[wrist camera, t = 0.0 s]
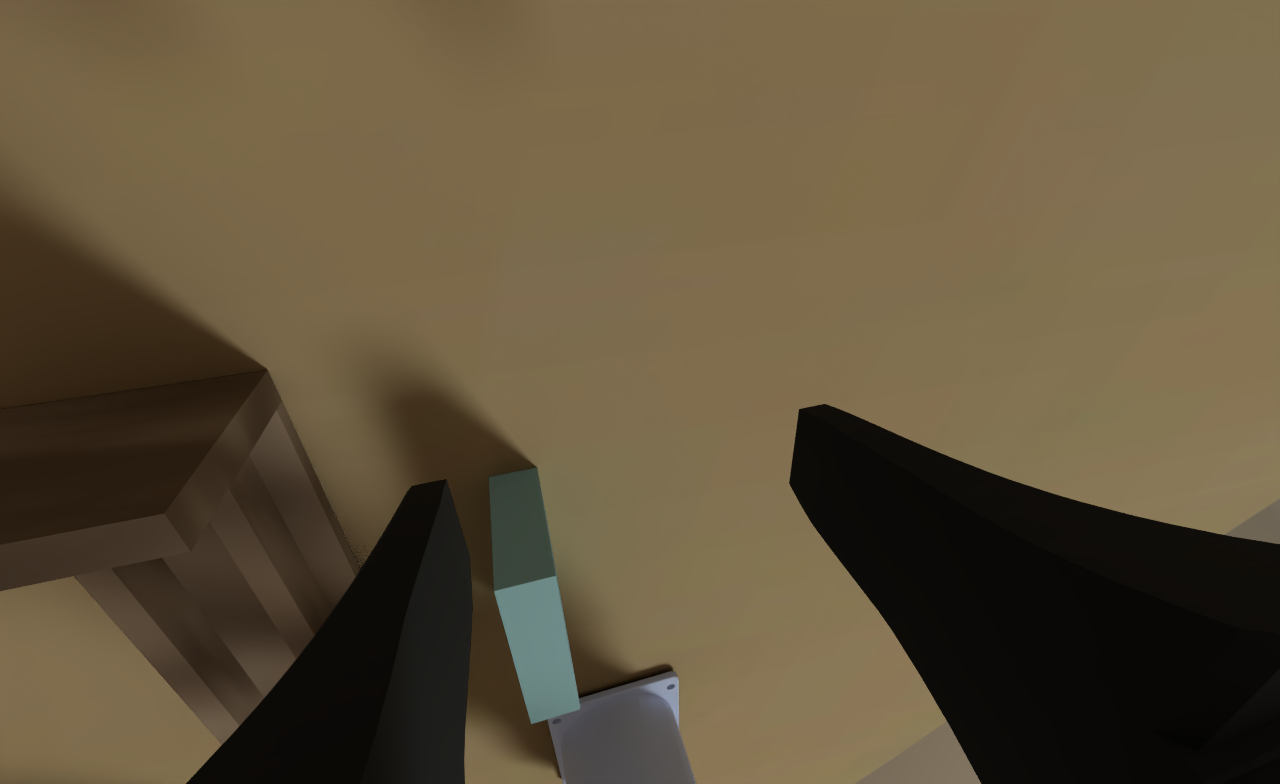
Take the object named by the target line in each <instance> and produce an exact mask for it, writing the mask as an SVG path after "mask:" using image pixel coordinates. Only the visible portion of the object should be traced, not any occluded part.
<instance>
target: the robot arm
mask: <svg viewBox="0 0 1280 784" xmlns="http://www.w3.org/2000/svg"><path fill="white" fill-rule="evenodd" d="M789 484H790V486H791V488H792V490H793V491H794V493H795V495H796V497H797V499H798V501H799V502H800V504H801V506H802V508H803V509H804V511H805V513H806V515H807V516H808V518H809V520H810V521H811V523H812V524H813V526H814V527H815V528H816V530H817V531H818V533H819V534H820V535H821V537H822V538H823V539H824V541H825V542H826V543H827V545H828V546H829V547H830V549H831V550H832V551H833V552H834V554H835V555H836V556H837V558H838V559H839V560H840V562H841V563H842V564H843V566H844V567H845V568H846V569H847V571H848V572H849V573H850V575H851V576H852V577H853V578H854V580H855V581H856V582H857V584H858V585H859V586H860V588H861V589H862V590H863V591H864V593H865V594H866V595H867V597H868V598H869V599H870V601H871V602H872V603H873V604H874V606H875V607H876V608H877V610H878V611H879V613H880V614H881V615H882V617H883V618H884V620H885V621H886V622H887V624H888V625H889V627H890V628H891V629H892V631H893V633H894V634H895V636H896V637H897V639H898V641H899V642H900V644H901V645H902V647H903V649H904V650H905V652H906V653H907V655H908V657H909V658H910V660H911V661H912V663H913V665H914V666H915V668H916V669H917V671H918V673H919V674H920V676H921V677H922V679H923V681H924V683H925V684H926V686H927V688H928V689H929V691H930V693H931V695H932V696H933V698H934V700H935V701H936V703H937V705H938V706H939V708H940V710H941V712H942V713H943V715H944V717H945V718H946V720H947V722H948V723H949V725H950V727H951V729H952V731H953V732H954V734H955V736H956V738H957V740H958V742H959V743H960V745H961V747H962V749H963V751H964V753H965V754H966V756H967V758H968V760H969V762H970V764H971V765H972V767H973V769H974V771H975V773H976V775H977V776H978V778H979V780H980V782H981V784H1280V544H1274V543H1268V542H1262V541H1256V540H1250V539H1243V538H1237V537H1231V536H1226V535H1221V534H1216V533H1211V532H1206V531H1202V530H1197V529H1192V528H1187V527H1182V526H1177V525H1172V524H1168V523H1163V522H1159V521H1154V520H1150V519H1146V518H1141V517H1137V516H1133V515H1129V514H1125V513H1121V512H1117V511H1114V510H1110V509H1106V508H1102V507H1098V506H1094V505H1091V504H1087V503H1083V502H1079V501H1076V500H1073V499H1069V498H1066V497H1062V496H1059V495H1055V494H1052V493H1049V492H1046V491H1043V490H1040V489H1037V488H1034V487H1031V486H1027V485H1024V484H1021V483H1018V482H1015V481H1012V480H1009V479H1006V478H1003V477H1001V476H998V475H995V474H992V473H990V472H987V471H984V470H982V469H979V468H977V467H974V466H971V465H969V464H966V463H964V462H961V461H958V460H956V459H953V458H951V457H949V456H946V455H944V454H941V453H939V452H936V451H934V450H932V449H929V448H927V447H925V446H922V445H920V444H918V443H915V442H913V441H911V440H909V439H906V438H904V437H902V436H899V435H897V434H895V433H893V432H890V431H888V430H886V429H884V428H881V427H879V426H877V425H875V424H873V423H870V422H868V421H866V420H864V419H861V418H859V417H857V416H854V415H852V414H850V413H847V412H845V411H842V410H840V409H837V408H835V407H832V406H829V405H826V404H823V405H818V406H812V407H807V408H802V409H799V414H798V422H797V429H796V437H795V444H794V452H793V459H792V467H791V474H790V482H789ZM472 612H473V603H472V583H471V567H470V556H469V552H468V549H467V546H466V542H465V539H464V536H463V532H462V529H461V526H460V522H459V519H458V516H457V512H456V509H455V506H454V502H453V499H452V496H451V492H450V489H449V486H448V482H447V479H445V480H440V481H435V482H429V483H424V484H419V485H414V486H411V488H410V489H409V490H408V491H407V493H406V495H405V496H404V498H403V500H402V502H401V503H400V505H399V507H398V509H397V510H396V512H395V514H394V516H393V517H392V519H391V521H390V522H389V524H388V526H387V528H386V529H385V531H384V533H383V534H382V536H381V538H380V539H379V541H378V543H377V544H376V546H375V547H374V549H373V551H372V552H371V554H370V555H369V557H368V558H367V560H366V561H365V563H364V565H363V566H362V568H361V569H360V571H359V572H358V574H357V575H356V577H355V579H354V580H353V582H352V583H351V585H350V586H349V588H348V589H347V591H346V592H345V593H344V595H343V596H342V598H341V599H340V600H339V602H338V603H337V605H336V606H335V607H334V609H333V610H332V612H331V613H330V614H329V616H328V617H327V619H326V620H325V621H324V623H323V624H322V626H321V627H320V628H319V630H318V631H317V633H316V634H315V635H314V637H313V638H312V639H311V641H310V642H309V643H308V644H307V646H306V647H305V648H304V650H303V651H302V652H301V654H300V655H299V656H298V657H297V659H296V660H295V661H294V662H293V664H292V665H291V666H290V667H289V669H288V670H287V671H286V672H285V674H284V675H283V676H282V677H281V678H280V680H279V681H278V682H277V683H276V684H275V686H274V687H273V688H272V689H271V690H270V692H269V693H268V694H267V695H266V696H265V698H264V699H263V700H262V701H261V702H260V703H259V705H258V706H257V707H256V708H255V709H254V710H253V711H252V712H251V714H250V715H249V716H248V717H247V718H246V719H245V720H244V721H243V723H242V724H241V725H240V726H239V727H238V728H237V729H236V730H235V731H234V732H233V734H232V735H231V736H230V737H229V738H228V739H227V740H226V741H225V742H224V743H223V744H222V745H221V747H220V748H219V749H218V750H217V751H216V752H215V753H214V754H213V755H212V756H211V757H210V758H209V760H208V761H207V762H206V763H205V764H204V765H203V766H202V767H201V768H200V769H199V770H198V771H197V773H196V774H195V775H194V776H193V777H192V778H191V779H190V780H189V781H188V782H187V783H186V784H465V774H464V748H465V723H466V707H467V692H468V677H469V662H470V646H471V629H472ZM579 703H580V708H581V709H580V710H577V711H573V712H570V713H567V714H564V715H560V716H557V717H554V718H550V719H547V721H548V725H549V729H550V733H551V737H552V741H553V745H554V749H555V753H556V757H557V761H558V765H559V769H560V773H561V777H562V781H563V784H696V781H695V778H694V775H693V772H692V769H691V766H690V762H689V759H688V756H687V753H686V750H685V747H684V744H683V741H682V737H681V734H680V731H679V682H678V676H677V673H676V672H674V671H670V672H666V673H663V674H659V675H656V676H653V677H649V678H646V679H642V680H639V681H636V682H632V683H629V684H626V685H622V686H619V687H615V688H612V689H609V690H605V691H602V692H599V693H595V694H592V695H588V696H585V697H582V698H579Z"/></svg>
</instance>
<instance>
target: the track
mask: <svg viewBox="0 0 1280 784" xmlns="http://www.w3.org/2000/svg"><path fill="white" fill-rule="evenodd" d="M359 571H360V569H359V567H358V565H357V562H356V560H355V558H354V556H353V554H352V552H351V549H350V547H349V545H348V543H347V541H346V539H345V536H344V534H343V532H342V530H341V528H340V526H339V523H338V521H337V519H336V517H335V515H334V513H333V510H332V508H331V506H330V504H329V502H328V500H327V497H326V495H325V493H324V491H323V489H322V487H321V484H320V482H319V480H318V478H317V476H316V474H315V472H314V469H313V467H312V465H311V463H310V461H309V459H308V456H307V454H306V452H305V450H304V448H303V446H302V443H301V441H300V439H299V437H298V435H297V433H296V430H295V428H294V426H293V424H292V422H291V420H290V417H289V415H288V413H287V411H286V409H285V407H284V404H283V402H282V400H281V398H280V396H279V394H278V392H277V389H276V387H275V385H274V383H273V381H272V379H271V376H270V374H269V372H268V370H265V371H259V372H252V373H245V374H238V375H231V376H225V377H218V378H211V379H204V380H198V381H191V382H184V383H177V384H170V385H164V386H157V387H150V388H143V389H136V390H130V391H123V392H116V393H109V394H103V395H96V396H89V397H82V398H75V399H69V400H62V401H55V402H48V403H41V404H35V405H28V406H21V407H14V408H8V409H1V410H0V591H3V590H8V589H13V588H18V587H22V586H27V585H32V584H37V583H42V582H47V581H52V580H56V579H61V578H66V577H71V576H74V577H75V578H76V579H77V580H78V581H79V583H80V584H81V585H82V586H83V587H84V588H85V589H86V590H87V592H88V593H89V594H90V595H91V596H92V597H93V598H94V600H95V601H96V602H97V603H98V604H99V605H100V606H101V608H102V609H103V610H104V611H105V612H106V613H107V614H108V616H109V617H110V618H111V619H112V620H113V621H114V622H115V624H116V625H117V626H118V627H119V628H120V629H121V630H122V631H123V633H124V634H125V635H126V636H127V637H128V638H129V639H130V641H131V642H132V643H133V644H134V645H135V646H136V647H137V649H138V650H139V651H140V652H141V653H142V654H143V655H144V657H145V658H146V659H147V660H148V661H149V662H150V663H151V665H152V666H153V667H154V668H155V669H156V670H157V671H158V672H159V674H160V675H161V676H162V677H163V678H164V679H165V680H166V682H167V683H168V684H169V685H170V686H171V687H172V688H173V690H174V691H175V692H176V693H177V694H178V695H179V696H180V698H181V699H182V700H183V701H184V702H185V703H186V704H187V706H188V707H189V708H190V709H191V710H192V711H193V712H194V713H195V715H196V716H197V717H198V718H199V719H200V720H201V721H202V723H203V724H204V725H205V726H206V727H207V728H208V729H209V731H210V732H211V733H212V734H213V735H214V736H215V737H216V739H217V740H218V741H219V742H220V743H221V744H223V743H224V742H225V741H226V740H227V739H228V738H229V737H230V736H231V735H232V734H233V732H234V731H235V730H236V729H237V728H238V727H239V726H240V725H241V724H242V723H243V721H244V720H245V719H246V718H247V717H248V716H249V715H250V714H251V712H252V711H253V710H254V709H255V708H256V707H257V706H258V705H259V703H260V702H261V701H262V700H263V699H264V698H265V696H266V695H267V694H268V693H269V692H270V690H271V689H272V688H273V687H274V686H275V684H276V683H277V682H278V681H279V680H280V678H281V677H282V676H283V675H284V674H285V672H286V671H287V670H288V669H289V667H290V666H291V665H292V664H293V662H294V661H295V660H296V659H297V657H298V656H299V655H300V654H301V652H302V651H303V650H304V648H305V647H306V646H307V644H308V643H309V642H310V641H311V639H312V638H313V637H314V635H315V634H316V633H317V631H318V630H319V628H320V627H321V626H322V624H323V623H324V621H325V620H326V619H327V617H328V616H329V614H330V613H331V612H332V610H333V609H334V607H335V606H336V605H337V603H338V602H339V600H340V599H341V598H342V596H343V595H344V593H345V592H346V591H347V589H348V588H349V586H350V585H351V583H352V582H353V580H354V579H355V577H356V575H357V574H358V572H359Z"/></svg>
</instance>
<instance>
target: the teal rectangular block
mask: <svg viewBox="0 0 1280 784" xmlns="http://www.w3.org/2000/svg"><path fill="white" fill-rule="evenodd" d="M489 492H490V514H491V536H492V557H493V579H494V593H495V596H496V600H497V603H498V607H499V611H500V614H501V618H502V621H503V625H504V628H505V632H506V636H507V639H508V643H509V646H510V650H511V654H512V657H513V661H514V664H515V668H516V671H517V675H518V679H519V682H520V686H521V689H522V693H523V697H524V700H525V704H526V707H527V711H528V714H529V718H530V722H531V724H534V723H537V722H541V721H544V720H547V719H550V718H554V717H557V716H560V715H564V714H567V713H570V712H573V711H577V710H580V709H581V708H580V703H579V697H578V691H577V686H576V680H575V675H574V669H573V663H572V658H571V652H570V646H569V641H568V635H567V629H566V624H565V618H564V612H563V607H562V601H561V595H560V590H559V584H558V579H557V573H556V568H555V562H554V557H553V551H552V546H551V541H550V535H549V530H548V524H547V519H546V513H545V508H544V502H543V497H542V491H541V486H540V480H539V475H538V470H537V468H532V469H527V470H522V471H517V472H512V473H507V474H502V475H497V476H492V477H489Z"/></svg>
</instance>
